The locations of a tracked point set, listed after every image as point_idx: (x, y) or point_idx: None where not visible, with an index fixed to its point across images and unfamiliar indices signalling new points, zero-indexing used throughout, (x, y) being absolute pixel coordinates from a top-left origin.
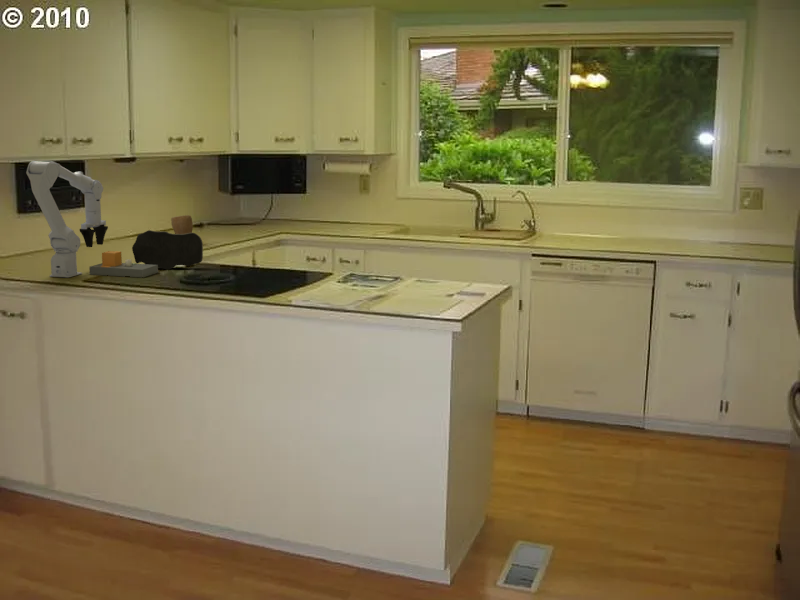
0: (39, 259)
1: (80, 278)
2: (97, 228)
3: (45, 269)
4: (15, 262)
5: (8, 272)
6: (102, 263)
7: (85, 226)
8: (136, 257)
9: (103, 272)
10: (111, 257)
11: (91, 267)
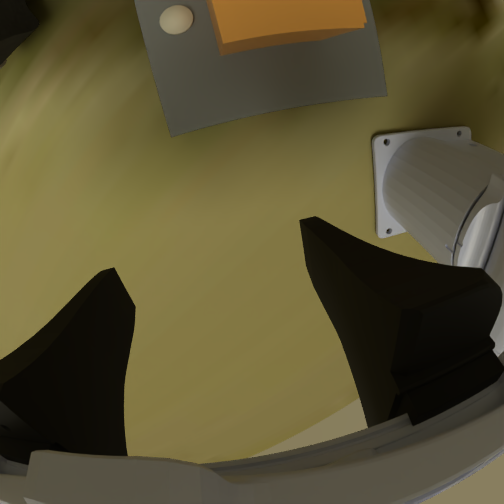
0: (179, 444)
1: (456, 70)
2: (95, 445)
3: (320, 347)
4: (251, 445)
5: None
6: (326, 37)
7: None
8: (15, 25)
9: None
10: None
11: (383, 80)
